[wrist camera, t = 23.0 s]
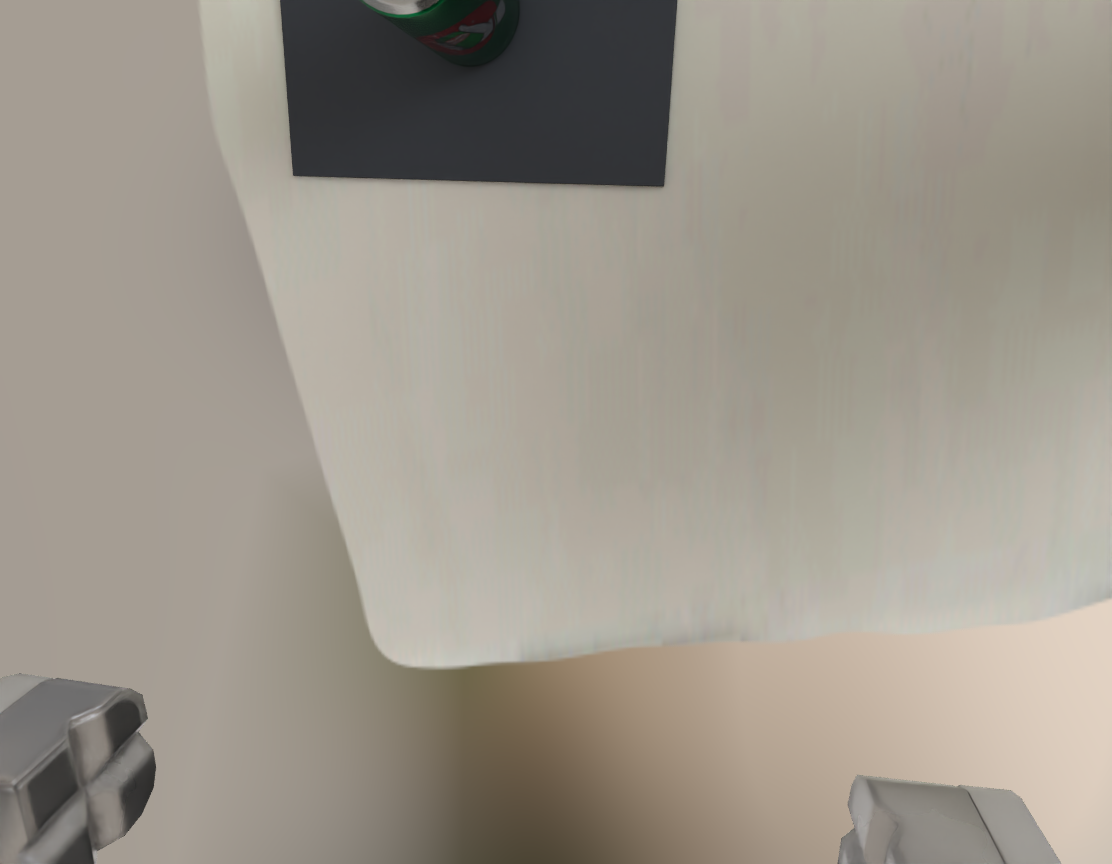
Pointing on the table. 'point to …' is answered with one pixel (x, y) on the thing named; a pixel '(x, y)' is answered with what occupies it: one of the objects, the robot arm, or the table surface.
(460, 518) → the table surface
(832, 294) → the table surface
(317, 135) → the desk pad
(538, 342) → the table surface
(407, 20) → the soda can
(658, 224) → the table surface
